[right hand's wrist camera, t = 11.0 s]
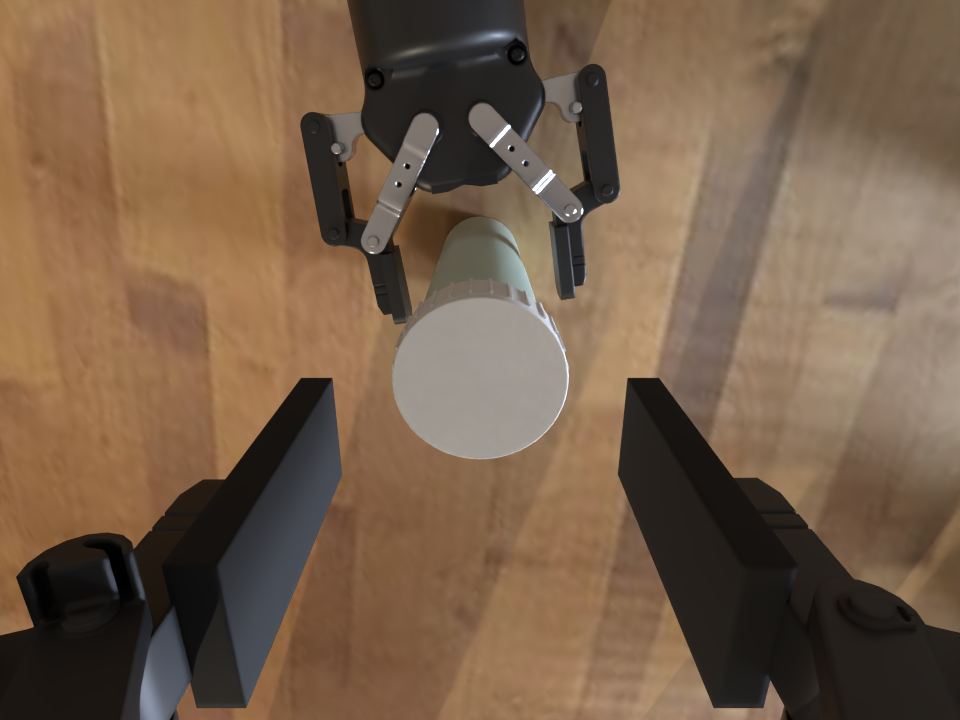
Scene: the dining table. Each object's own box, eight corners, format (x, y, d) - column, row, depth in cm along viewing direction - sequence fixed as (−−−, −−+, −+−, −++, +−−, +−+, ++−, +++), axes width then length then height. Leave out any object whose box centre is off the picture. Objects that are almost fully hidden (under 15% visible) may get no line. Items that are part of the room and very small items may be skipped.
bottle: (523, 282, 36) (568, 428, 18) (452, 297, 37) (425, 456, 18) (509, 208, 35) (542, 287, 16) (434, 225, 35) (385, 321, 17)
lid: (573, 412, 20) (583, 443, 18) (422, 442, 20) (415, 475, 18) (545, 260, 18) (553, 276, 16) (379, 297, 18) (367, 316, 16)
